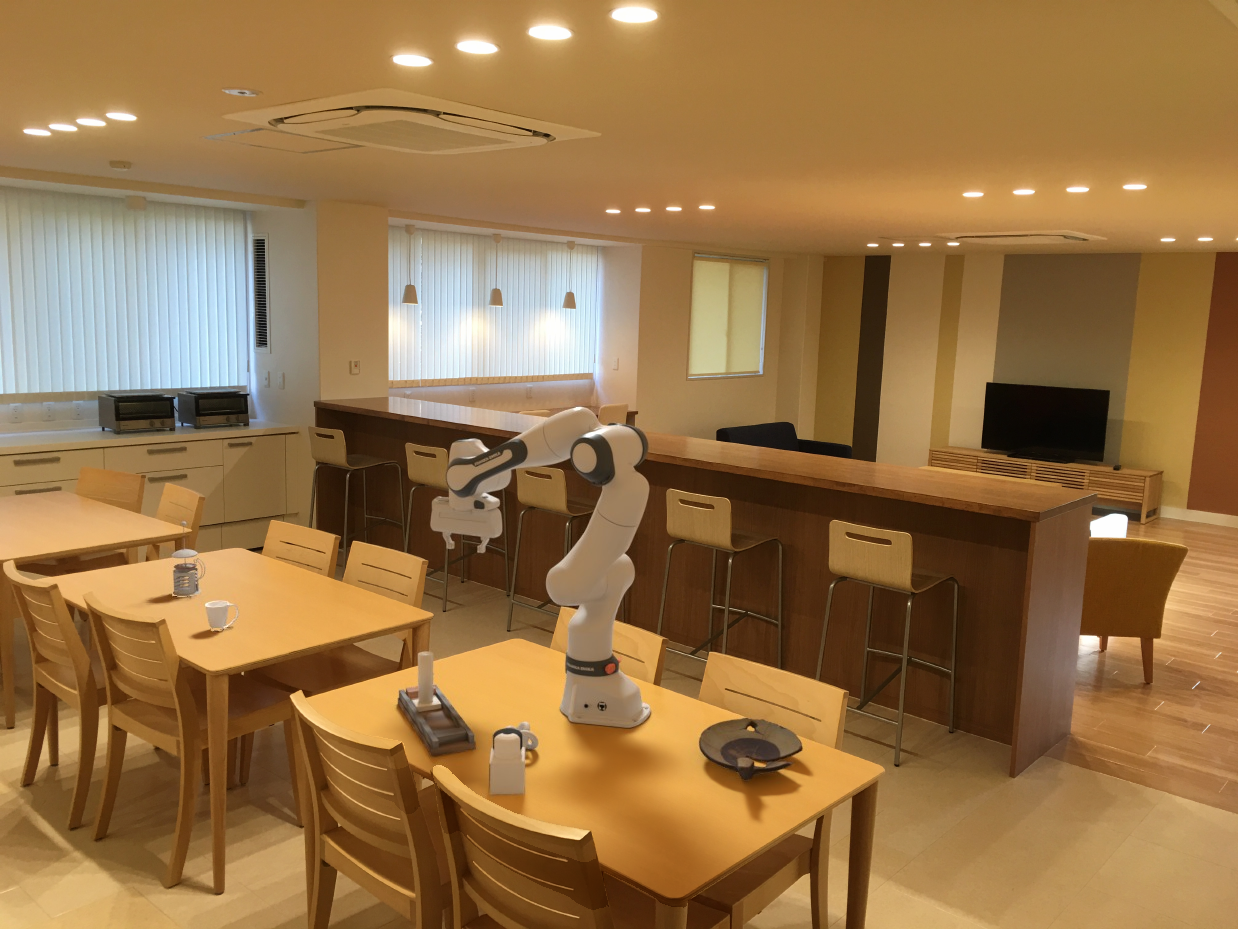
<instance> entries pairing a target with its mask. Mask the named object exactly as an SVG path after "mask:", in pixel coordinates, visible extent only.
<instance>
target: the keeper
mask: <svg viewBox="0 0 1238 929" xmlns="http://www.w3.org/2000/svg"><path fill="white" fill-rule="evenodd" d="M417 684H418V685H417V686H418V697H417V698H411V701H412V702H413V704H414V705H415V707H416V708H417V710H418V711H419V712H422V711H428V710H434V709H441V703H440V701H439V700H438V699H437V697H436V696H435V695H433V685H434V652H432V651H428V650H427V651H426V650H425V651H420V652H418V654H417Z"/></svg>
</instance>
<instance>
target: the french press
mask: <svg viewBox="0 0 1238 929" xmlns="http://www.w3.org/2000/svg"><path fill="white" fill-rule="evenodd" d="M186 525H188V524H187V522H186V521H181V522H180V526H183V528H182V529H183V531H182V532H183V534H185V526H186ZM185 544H186V542H185V539H183V549H180V550H177V551H174V552H173V553H172V554H171V557H172V558H175V559H189V558H190V559H191V558H194V557H197V555H199V553H198V552H197V551H196V550H193V549H188V548H186V546H185ZM197 563H198V565H200V567H201V569H203V568H204V571H203V570H201V575H200V576H199V569H198V568H197V566H198V565H197ZM201 563H202V564H201ZM202 565H203V566H204V567H203V566H202ZM173 568H174V569H173V570H172V573H173V574H172V576H173V594H174V595H177V596H190V595H195V594H199V593H200V592H201V591H202V590H201V589H200V587H199V581H200V580H201V579H203V577H205V574H206V566H205V563H204V561H203V560H202V559H201V558H199V557H197V558H196V559H193V562H186V561H184V563H177V564H175V565H174V566H173Z"/></svg>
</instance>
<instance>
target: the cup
mask: <svg viewBox="0 0 1238 929" xmlns="http://www.w3.org/2000/svg"><path fill="white" fill-rule="evenodd" d="M204 605H205V606H204V607H205V610H206V616H207V621H208V623H209V624H208V625H209V627H210V629H211V628H212V629H213V628H222V629H220V630H223V629H225V630H226V628H225V627H228V628H229V627H230V626H232V625H233V624H234V623H235V622H236V620H238V618H239V616H240V615H239V614H240V611H239V609H238V606H237V605H236V604H234V603H230V602H229V601H227V600H212V601H209V602H206V603H205V604H204ZM232 606H234V608H235V611H236V615H235V617H234V619H232V621H231V622H230V623H228V624H227V620H228V614H229V607H232ZM214 631H218V630H214ZM223 631H224V630H223Z"/></svg>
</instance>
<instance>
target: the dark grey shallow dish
mask: <svg viewBox="0 0 1238 929" xmlns="http://www.w3.org/2000/svg"><path fill="white" fill-rule="evenodd" d="M749 727H751V728H752V729H754V730H749V729H748V728H749ZM698 739H699V740H698V746H699V750H700V752H701V753H702V755H703V756H704V757H705V758H706V759H707V760H709V761H710V762H712V763H713V764H715V765H717V766H719V767H721V768H723V769H726V770H728V771H732V772H734V773H737V774H738V775H739V777H740V779H741V780H742V781H745V782H747V781H751V780H752V779H753V777H754V776H756V775H762V774H771V773H774V772H778V771H781V770H784V769H786V768H788V767H790V766H792V765H793V764H795V762H794V761H788V760H787V761H781V760H785V759H787V758H789V757H792V756H795V755H797V754H799V753H801V752H802V751H803V742H802V741H801V739H800V738H799V737H798V736H797V734H796V733H794V732H793V731H792V730H791V729H788V728H786V727H785V726H782V725H779V724H778V723H774V722H771V721H767V720H765V719H763V718H762V719H759V718H758V719H757V718H756V719H755V718H754V719H753V718H749V717H742V718H736V719H728V720H724V721H720V722H717V723H714V724H711V725H709V726H708V727H706V729H704V730H702V732H701V733H700V737H698ZM754 760H755V761H758V762H762V763H766V765H764V766H756V765H755V761H754Z"/></svg>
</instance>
